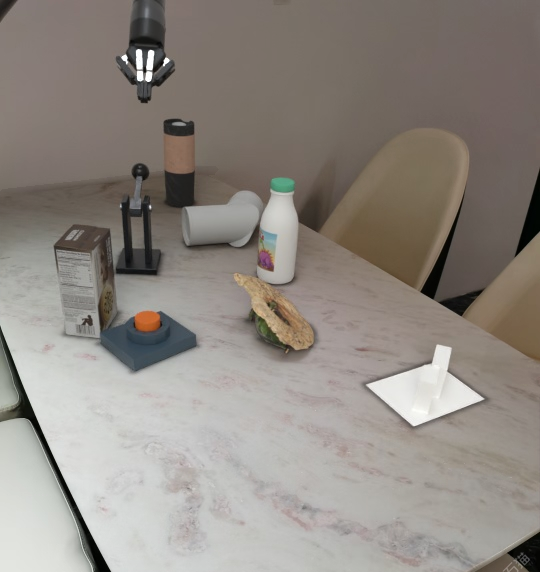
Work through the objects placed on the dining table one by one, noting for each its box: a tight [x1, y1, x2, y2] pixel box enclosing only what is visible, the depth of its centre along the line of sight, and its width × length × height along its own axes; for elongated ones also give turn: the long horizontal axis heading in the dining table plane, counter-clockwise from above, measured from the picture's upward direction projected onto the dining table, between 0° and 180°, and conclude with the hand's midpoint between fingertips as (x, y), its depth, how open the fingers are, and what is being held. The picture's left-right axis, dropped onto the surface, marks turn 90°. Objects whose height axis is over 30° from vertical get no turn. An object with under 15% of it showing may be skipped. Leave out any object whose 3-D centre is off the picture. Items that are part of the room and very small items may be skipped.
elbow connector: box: [181, 190, 265, 248], centre depth 135 cm, size 18×11×20 cm
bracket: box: [115, 193, 162, 276], centre depth 120 cm, size 10×8×14 cm
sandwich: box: [233, 272, 315, 354], centre depth 104 cm, size 18×14×8 cm
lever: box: [129, 162, 150, 218], centre depth 120 cm, size 13×4×4 cm, turn 3°
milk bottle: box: [256, 176, 299, 285], centre depth 117 cm, size 8×8×20 cm
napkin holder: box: [365, 344, 485, 427], centre depth 91 cm, size 15×11×6 cm
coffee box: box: [53, 223, 118, 339], centre depth 98 cm, size 9×6×16 cm
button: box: [134, 310, 160, 332], centre depth 96 cm, size 4×4×2 cm
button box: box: [99, 310, 197, 372], centre depth 97 cm, size 12×10×4 cm
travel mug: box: [162, 118, 196, 208], centre depth 150 cm, size 8×8×20 cm
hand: (143, 100), depth 126 cm, fingers closed
